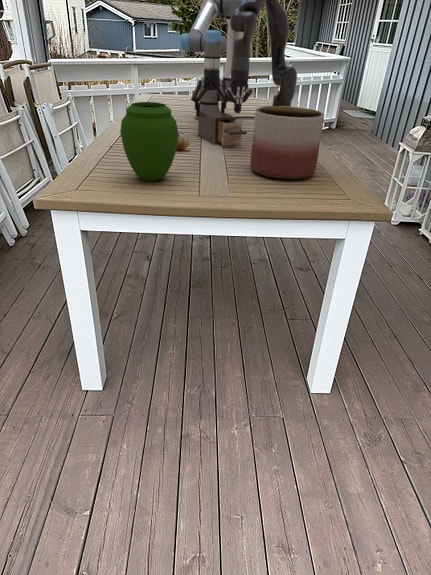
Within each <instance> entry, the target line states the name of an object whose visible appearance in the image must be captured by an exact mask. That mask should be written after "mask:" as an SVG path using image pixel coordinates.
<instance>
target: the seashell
mask: <svg viewBox="0 0 431 575" xmlns="http://www.w3.org/2000/svg"><path fill="white" fill-rule="evenodd" d="M178 133H179V134H178V141H177V148H176V151H177V150H178V151H181V150H185V149H187V148H188V147H189V146H190V145H191V140H190V138H189V136H187V135H186V133H185V132H184V131H183V130H180V131H178Z"/></svg>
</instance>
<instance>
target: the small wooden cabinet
mask: <svg viewBox="0 0 431 575" xmlns="http://www.w3.org/2000/svg"><path fill="white" fill-rule="evenodd" d="M219 110H220V109H219ZM219 110H200V117H198V119H197V136H199V137H201V138H203V139H204V140H206V141H208V142H209V143H211V144H213V145H222V143H221V142H219V141H217V121H218V120H233V121H235V122H236V118H235V117H236V116H233V115H231V114H228V113H226V112H225V113H224V112H221V110H220V111H219Z"/></svg>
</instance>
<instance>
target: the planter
mask: <svg viewBox="0 0 431 575" xmlns="http://www.w3.org/2000/svg"><path fill="white" fill-rule="evenodd" d="M254 117H255V118H254V123H253V124H254V125H253V135H252V142H251V143H252V144H251V153H250V163H249V164H250V168H251V169H252V170H253V171H254V172H255V173H257V174H258V175H260V176H262V177H266V178H271V179H276V180H284V181H285V180H286V181H288V180H289V181H290V180H293V181H294V180H295V181H296V180H302V179H306V178H309V177H311V176H313V175H314V174H315V173H316V169H317V165H318V158H319V153H320V152H319V151H320V147H321V146H320V145H321V141H322V140H321V139H322V133H323V126H324V122H325V121H324V120H325V113H324V112H322V111H319V110H317V109H312V108H307V107H299V106H291V107H290V106H272V105H267V106H266V105H265V106H260V107H257V108H256V109H255V114H254Z"/></svg>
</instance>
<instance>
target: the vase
mask: <svg viewBox="0 0 431 575" xmlns="http://www.w3.org/2000/svg"><path fill="white" fill-rule="evenodd" d="M125 113H126V114H125V115H124V117H122V119H121V122H120V123H121V124H120V130H119V133H120V138H121V142H122V147H123V150H124V154H125V155H126V158H127V160H128V163H129V165H130V167H131V168H132V170H133V172H134V173H135V175H136V176H137V177H138V178H139V179H141V180H143V181H145V182H159V181H161V180H163V179H164V178H165V176H166V175H167V174H168V173H169V170H170V169H171V167H172V165H173V162H174V159H175V157H176V156H175V155H176V153H177V149H176V148H177V141H178V134H179V133H178V132H179V129H178V122H177V120H176V119H175V117H174V116H173V115H172V109H171V108H170V107H169V106H167V105H166V104H164V103H162V102H155V101H138V102H132V103H131V104H130V105H128V107H127V108H125Z"/></svg>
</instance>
